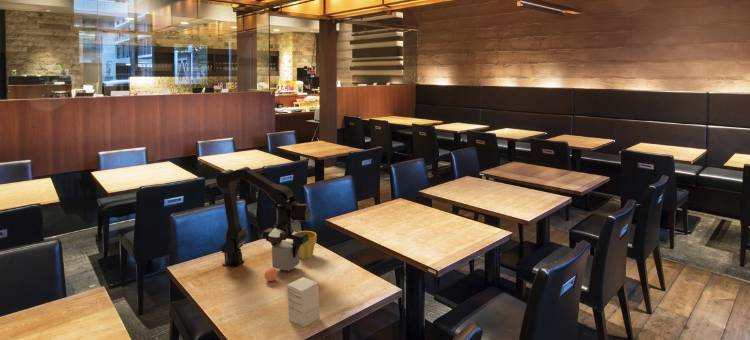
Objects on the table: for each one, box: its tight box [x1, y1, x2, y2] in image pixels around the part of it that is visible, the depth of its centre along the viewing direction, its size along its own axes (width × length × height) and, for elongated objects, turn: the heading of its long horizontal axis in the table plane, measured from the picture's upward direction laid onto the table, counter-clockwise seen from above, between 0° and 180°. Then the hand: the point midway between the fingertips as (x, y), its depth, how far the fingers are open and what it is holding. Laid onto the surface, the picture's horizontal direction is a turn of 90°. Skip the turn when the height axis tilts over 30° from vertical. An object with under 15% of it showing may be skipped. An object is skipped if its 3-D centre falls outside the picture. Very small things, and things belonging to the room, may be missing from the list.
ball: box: [263, 267, 279, 282], centre depth 177 cm, size 5×5×5 cm
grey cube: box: [271, 240, 300, 271], centre depth 186 cm, size 8×8×9 cm
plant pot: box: [292, 230, 318, 260], centre depth 200 cm, size 10×10×10 cm
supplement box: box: [286, 276, 321, 328], centre depth 148 cm, size 7×7×13 cm
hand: (285, 256), depth 186 cm, fingers closed on grey cube, 8 cm apart
